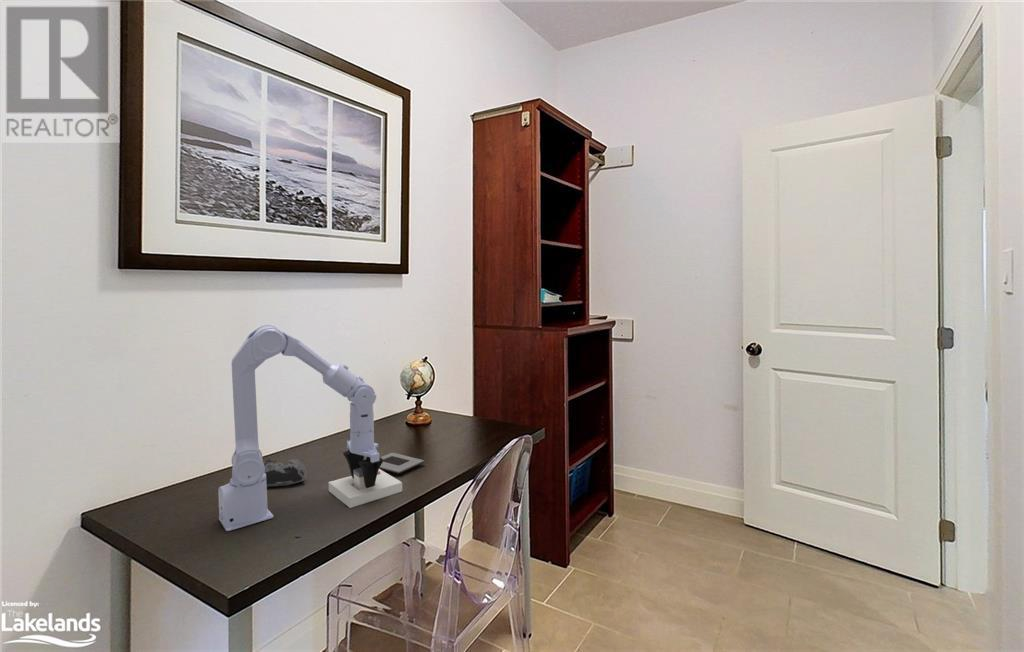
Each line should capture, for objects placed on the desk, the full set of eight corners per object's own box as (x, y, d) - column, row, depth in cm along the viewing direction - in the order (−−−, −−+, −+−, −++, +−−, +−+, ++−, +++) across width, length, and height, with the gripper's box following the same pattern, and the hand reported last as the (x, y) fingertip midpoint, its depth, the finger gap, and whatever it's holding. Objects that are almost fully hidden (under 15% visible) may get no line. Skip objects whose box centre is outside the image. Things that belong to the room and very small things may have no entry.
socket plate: (349, 508, 114) (349, 495, 114) (328, 491, 124) (328, 479, 124) (402, 491, 124) (402, 480, 123) (378, 476, 133) (378, 466, 133)
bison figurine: (306, 487, 127) (311, 471, 137) (304, 461, 126) (309, 447, 136) (256, 492, 124) (264, 476, 134) (254, 466, 123) (263, 452, 133)
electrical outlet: (424, 467, 142) (424, 459, 141) (398, 479, 133) (398, 470, 132) (392, 459, 148) (392, 451, 148) (365, 469, 139) (365, 461, 139)
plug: (359, 497, 120) (359, 473, 119) (353, 492, 123) (353, 469, 122) (373, 493, 122) (372, 470, 122) (367, 488, 125) (366, 466, 124)
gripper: (390, 433, 118) (391, 486, 119) (364, 421, 129) (365, 470, 130) (363, 439, 114) (364, 494, 115) (338, 426, 124) (339, 477, 125)
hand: (363, 482), depth 122 cm, fingers open, 7 cm apart
